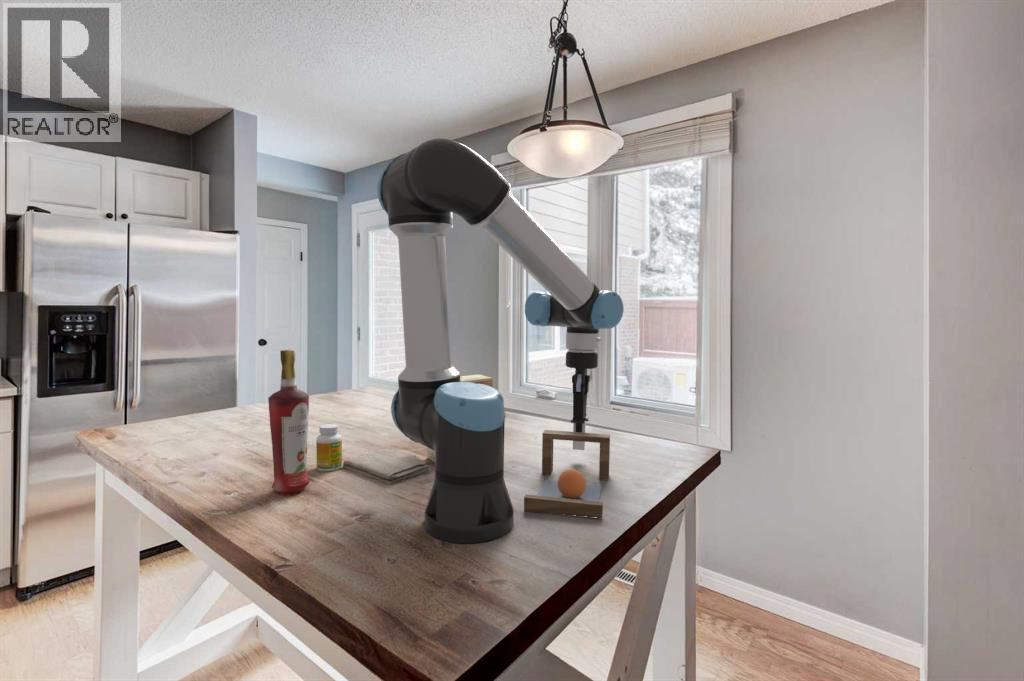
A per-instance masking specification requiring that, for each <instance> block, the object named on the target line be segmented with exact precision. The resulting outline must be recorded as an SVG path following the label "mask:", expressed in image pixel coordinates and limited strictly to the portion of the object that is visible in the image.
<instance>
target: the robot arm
mask: <svg viewBox="0 0 1024 681" xmlns="http://www.w3.org/2000/svg"><path fill="white" fill-rule="evenodd" d="M376 186H377V187H376V189H377V190H376V191H377V198H378V201H379V204H380V206H381V208H382V209H383V210H384V211H385V212H386V215H387V218H388V228H389V231H391V233H393V234H394V236H396V237H397V240H398V241H397V243H398V256H399V275H400V276H399V277H400V288H401V304H402V306H401V307H402V324H403V339H404V340H403V342H404V358H405V361H404V362H405V367H404V369H403V370H402V371H401V372H400V374H399V375H398V376H397V381H398V384H397V385H398V388H397V391H396V392H395V393H394V395H393V397H392V399H391V400H392V401H391V407H390V411H391V418H392V420H393V424H394V425H395V426H396V428H397V429H398V430H399V431H400V433H402V434H403V435H404V436H405V437H406V438H408V439H409V440H410V441H413V442H415V443H417V444H420V445H422V446H425V447H426V448H428V447H429V448H431V449H432V450H434V451H435V462H434V481H433V485H432V488H431V491H430V495H429V498H428V502H427V503H426V507H425V509H424V510H425V511H424V528H425V531H426V532H427V533H428V534H429V535H431V536H433V537H434V538H436V539H439V540H442V541H445V542H451V543H457V544H460V543H461V544H472V543H473V544H474V543H481V542H487V541H488V542H489V541H491V540H495V539H498V538H500V537H503V536H504V535H506V534H507V533H508V532H509V531H510V530H512V528H513V526H514V515H515V514H514V511H515V510H514V507H513V502H512V500H511V498H510V494H509V491H508V488H507V485H506V481H505V476H504V474H505V473H504V471H505V470H504V469H505V468H504V466H505V465H504V464H505V425H506V424H505V421H506V410H505V403H504V402H505V401H504V396H503V395H502V393H501V392H500V391H499V390H498V389H496V388H494V387H493V386H492V387H490V386H487V385H484V384H475V383H472V382H460V376H461V372H460V371H459V370H458V369H457V368H456V367H455V366H454V365H453V363H452V348H451V347H452V346H451V330H450V328H451V327H450V308H449V304H450V303H449V287H448V286H449V284H448V265H447V263H448V262H447V247H446V246H447V244H446V237H447V235H448V234H449V233H450V232H451V231H452V229H454V221H453V220H454V218H453V214H455V215H458V216H459V217H461V218H462V219H463V220H464V221H465V222H466V223H467V224H468V225H470V226H472V227H477V226H479V227H480V228H481V229H482V230H483V231H485V233H486V234H487V235H488V236H489V237H491V239H492V240H493V241H494V242H495V243H497V245H499V246H500V247H501V248H502V249H503V250H504V251H505V252H506V253H507V254H508V255H509V256H510V257H511V258H512V259H513V260H514V261H515V262H516V263H517V264H519V265H520V266H521V267H522V268H523V269H524V270H525V271H526V272H527V273H528V274H529V275H530V276H531V277H532V278H533V279H534V280H535V282H537V283H538V284H540V286H541V287H542V288H543V289H544V290H546V291H544V290H543V291H534V292H532V293H530V294H529V295H528V296H527V297H526V300H525V304H524V315H525V318H526V320H527V321H528V323H529V324H530V325H532V326H535V327H536V326H538V327H561V328H563V327H565V328H566V332H565V333H566V334H565V337H566V338H565V339H566V340H565V348H566V350H567V351H566V352H565V366H566V367H567V368H571V369H575V371H574V374H572V375H571V383H572V396H573V398H572V419H570V423H573V426H572V427H573V428H572V430H573V431H572V432H583V433H586V422H589V418H587V406H588V405H587V402H588V401H587V400H588V393H589V388H590V387H589V383H590V380H591V375H589V374H588V370H593V369H596V368H598V367H599V366H598V362H599V361H598V360H599V354H598V352H596V351H597V350H598V349H599V342H601V341H602V338H601V337H599V332H600V331H599V330H601V329H602V330H603V329H604V330H606V329H607V330H608V329H614V328H615V327H617V326H618V325H619V323H620V322H621V320H622V318H623V315H624V308H625V307H624V302H623V300H622V298H621V296H620V295H619V294H618V293H617V292H615V291H613V290H612V291H611V290H607V289H606V290H605V289H604V290H601V289H600V288H599V287H598V286H597V285H596V284H595V283H594V282H593V281H592V280H591V279H590V277H589V276H588V275H587V274H586V273H585V272H584V271H583V270H582V269H581V268H580V267H579V266H578V265H577V263H575V261H574V260H573V259H572V258H571V257H570V256H569V255H568V254H567V253H566V252H565V251H564V250H563V248H562V247H560V245H559V244H558V243H557V242H556V241H555V240H554V239H553V237H551V235H549V234H548V232H547V231H546V230H545V228H543V227H542V226H541V225H540V224H539V222H537V220H535V218H534V217H533V216H532V215H531V214H530V213H529V212H528V210H527V209H526V208H525V207H524V206H523V205H522V204H521V203H520V202H519V201H518V200H517V199H516V198H515V197H514V196H513V194H512V193H511V184H510V183H509V181H508V180H507V179H506V178H505V177H504V176H503V175H502V174H501V173H500V172H499V171H498V169H496V168H495V167H494V165H492V164H491V163H490V162H489V161H487V159H485V158H484V157H482V155H480V154H479V153H477V152H476V151H475V150H473V149H472V148H470V147H468V146H467V145H465V144H463V143H460V142H459V141H456V140H452V139H450V138H432V139H429V140H426V141H424V142H422V143H420V144H419V145H417V147H414V148H413V149H410V150H409V151H408V152H407V151H406V152H405V153H402V154H399V155H397V156H396V157H395V158H393V159H391V161H390V162H389V163H388V164H387V165H385V167H384V168H383V169H382V171H381V173H380V175H379V178H378V180H377V185H376ZM585 445H586V442H583V441H572V450H575V451H585V449H586V448H585V447H586V446H585Z"/></svg>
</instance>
